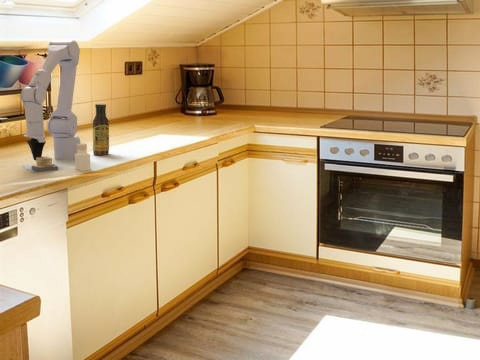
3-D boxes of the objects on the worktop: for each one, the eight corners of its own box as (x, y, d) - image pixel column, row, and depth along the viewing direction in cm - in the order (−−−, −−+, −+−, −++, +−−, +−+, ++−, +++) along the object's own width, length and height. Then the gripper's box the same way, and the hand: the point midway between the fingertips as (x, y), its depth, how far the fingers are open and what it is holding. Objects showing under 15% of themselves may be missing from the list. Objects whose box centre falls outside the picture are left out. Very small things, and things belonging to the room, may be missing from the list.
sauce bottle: (94, 156, 243) (92, 105, 239) (91, 153, 248) (89, 103, 244) (111, 155, 245) (109, 104, 241) (108, 152, 251) (106, 102, 247)
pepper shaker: (81, 173, 212) (80, 145, 210) (74, 171, 214) (73, 144, 212) (91, 171, 215) (90, 144, 213) (84, 170, 217) (83, 142, 215)
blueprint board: (49, 165, 225) (49, 159, 225) (63, 172, 213) (63, 166, 213) (21, 168, 220) (21, 162, 219) (34, 175, 208) (33, 169, 207)
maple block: (48, 167, 217) (47, 156, 216) (52, 169, 213) (51, 158, 212) (36, 168, 215) (36, 157, 214) (40, 171, 211) (40, 159, 210)
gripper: (17, 120, 221) (20, 157, 224) (29, 124, 209) (32, 164, 212) (37, 118, 224) (39, 155, 228) (50, 123, 213) (52, 162, 216)
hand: (37, 159), depth 220 cm, fingers closed
